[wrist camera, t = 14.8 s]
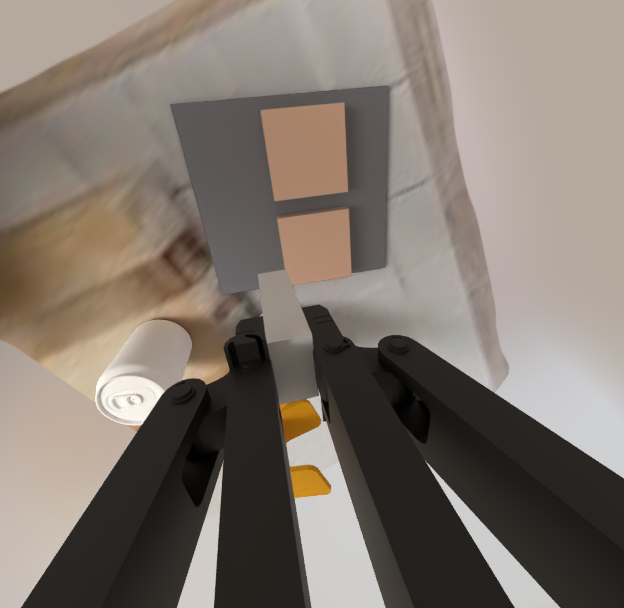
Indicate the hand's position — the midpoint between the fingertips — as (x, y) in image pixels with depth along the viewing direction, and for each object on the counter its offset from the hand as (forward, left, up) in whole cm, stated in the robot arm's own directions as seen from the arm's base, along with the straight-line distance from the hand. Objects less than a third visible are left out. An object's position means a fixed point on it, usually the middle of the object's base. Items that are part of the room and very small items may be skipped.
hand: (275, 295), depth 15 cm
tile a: (+2, +7, -22) cm, 23 cm away
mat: (+5, +2, -24) cm, 25 cm away
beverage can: (-17, -15, -24) cm, 33 cm away
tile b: (+2, -4, -22) cm, 23 cm away
